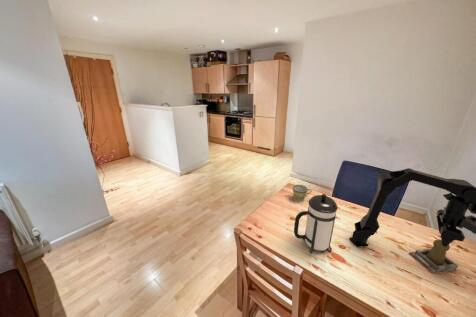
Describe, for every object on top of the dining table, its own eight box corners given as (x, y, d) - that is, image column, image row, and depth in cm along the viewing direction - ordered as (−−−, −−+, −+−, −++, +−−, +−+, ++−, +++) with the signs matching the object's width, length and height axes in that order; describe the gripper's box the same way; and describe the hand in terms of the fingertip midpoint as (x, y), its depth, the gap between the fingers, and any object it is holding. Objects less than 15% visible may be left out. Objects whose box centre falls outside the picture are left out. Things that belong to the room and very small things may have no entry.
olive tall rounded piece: (447, 267, 88) (456, 248, 84) (431, 265, 89) (439, 246, 86) (437, 256, 94) (445, 238, 90) (422, 254, 95) (430, 236, 91)
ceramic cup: (292, 203, 139) (293, 190, 136) (290, 195, 148) (292, 184, 145) (311, 204, 137) (313, 192, 133) (309, 197, 146) (310, 185, 143)
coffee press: (307, 229, 113) (314, 183, 103) (336, 244, 103) (347, 194, 92) (291, 246, 102) (296, 195, 92) (322, 264, 91) (332, 209, 81)
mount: (431, 273, 86) (433, 268, 85) (408, 253, 97) (410, 249, 96) (455, 270, 88) (458, 265, 87) (430, 251, 98) (432, 246, 97)
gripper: (492, 230, 71) (475, 263, 76) (478, 206, 84) (464, 235, 90) (448, 218, 77) (435, 249, 83) (442, 197, 91) (430, 225, 96)
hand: (442, 239), depth 88 cm, fingers open, 9 cm apart
